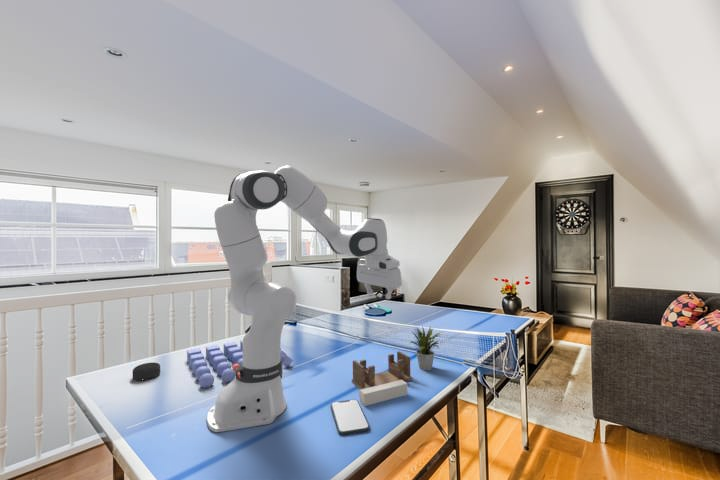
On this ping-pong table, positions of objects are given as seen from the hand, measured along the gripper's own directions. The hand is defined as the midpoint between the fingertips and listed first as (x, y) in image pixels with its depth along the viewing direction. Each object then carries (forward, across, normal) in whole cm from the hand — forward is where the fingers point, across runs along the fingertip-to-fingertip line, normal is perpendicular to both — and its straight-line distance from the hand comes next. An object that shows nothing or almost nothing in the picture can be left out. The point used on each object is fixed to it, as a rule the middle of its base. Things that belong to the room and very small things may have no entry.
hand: (379, 296), depth 125 cm
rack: (+28, +7, -8) cm, 30 cm away
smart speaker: (+24, -59, -68) cm, 94 cm away
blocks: (+28, -46, -38) cm, 66 cm away
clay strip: (+27, +16, -17) cm, 35 cm away
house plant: (+31, +12, +12) cm, 35 cm away
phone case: (+25, +16, -33) cm, 44 cm away
